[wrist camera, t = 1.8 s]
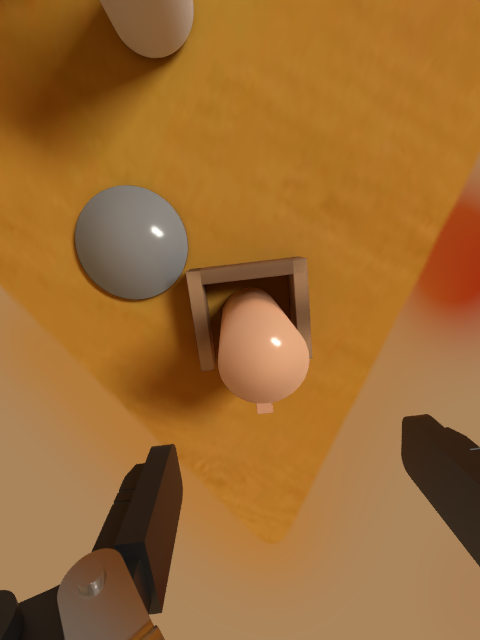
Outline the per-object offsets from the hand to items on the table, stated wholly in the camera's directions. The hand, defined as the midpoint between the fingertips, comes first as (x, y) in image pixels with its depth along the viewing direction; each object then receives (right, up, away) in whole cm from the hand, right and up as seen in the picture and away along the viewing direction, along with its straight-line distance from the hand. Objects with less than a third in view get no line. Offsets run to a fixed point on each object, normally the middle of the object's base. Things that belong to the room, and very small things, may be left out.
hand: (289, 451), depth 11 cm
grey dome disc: (-12, +12, +17) cm, 24 cm away
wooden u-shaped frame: (-1, +5, +19) cm, 20 cm away
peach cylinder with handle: (-1, +4, +20) cm, 20 cm away
